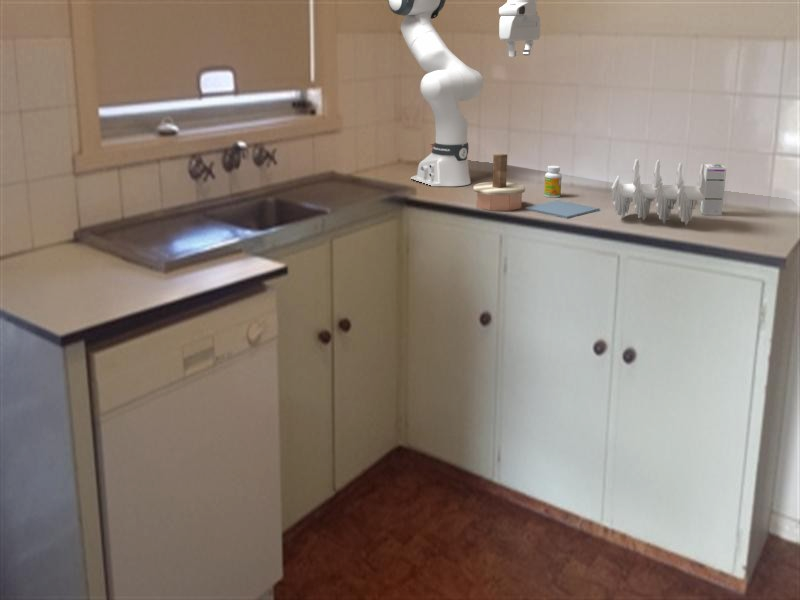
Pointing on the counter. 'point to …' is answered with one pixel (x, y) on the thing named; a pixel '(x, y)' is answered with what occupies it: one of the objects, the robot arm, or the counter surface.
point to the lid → (499, 180)
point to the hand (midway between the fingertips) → (519, 56)
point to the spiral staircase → (658, 195)
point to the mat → (562, 209)
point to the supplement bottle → (552, 182)
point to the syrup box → (713, 189)
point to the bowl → (499, 202)
